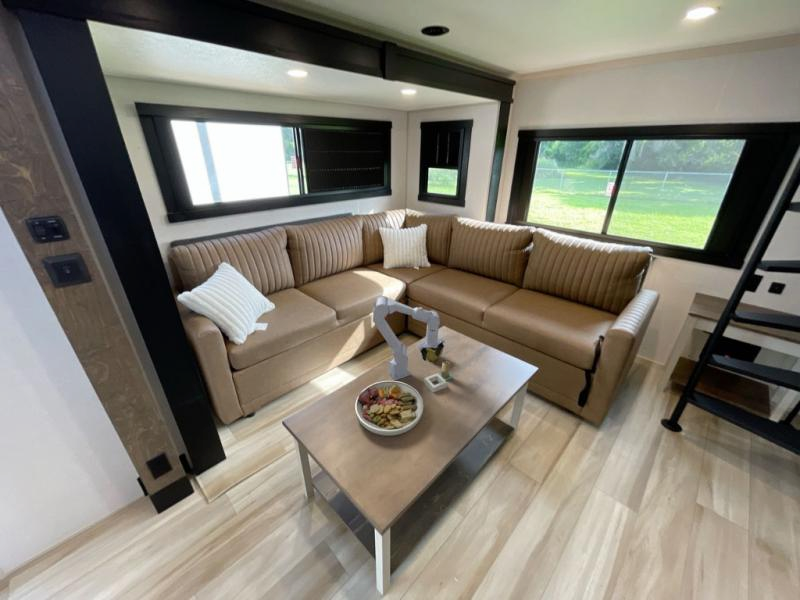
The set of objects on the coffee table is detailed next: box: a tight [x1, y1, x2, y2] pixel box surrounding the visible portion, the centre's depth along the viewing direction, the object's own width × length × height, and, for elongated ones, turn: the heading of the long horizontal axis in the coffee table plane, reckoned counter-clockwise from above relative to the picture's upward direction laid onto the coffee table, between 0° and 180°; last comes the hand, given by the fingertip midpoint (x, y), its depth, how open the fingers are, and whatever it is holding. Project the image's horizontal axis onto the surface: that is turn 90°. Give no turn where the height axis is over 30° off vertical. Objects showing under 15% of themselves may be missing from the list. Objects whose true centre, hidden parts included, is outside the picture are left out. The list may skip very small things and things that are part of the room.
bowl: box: [354, 380, 424, 437], centre depth 137 cm, size 30×30×8 cm
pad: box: [438, 372, 454, 382], centre depth 159 cm, size 6×6×1 cm
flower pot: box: [426, 346, 445, 362], centre depth 171 cm, size 9×9×9 cm
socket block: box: [423, 372, 448, 393], centre depth 153 cm, size 8×8×3 cm
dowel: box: [440, 360, 451, 379], centre depth 157 cm, size 4×4×8 cm
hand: (430, 357), depth 157 cm, fingers open, 7 cm apart
